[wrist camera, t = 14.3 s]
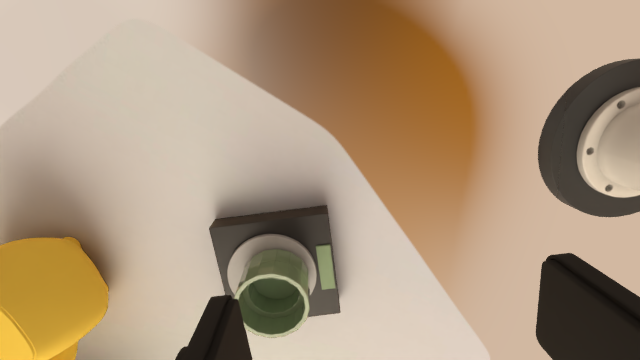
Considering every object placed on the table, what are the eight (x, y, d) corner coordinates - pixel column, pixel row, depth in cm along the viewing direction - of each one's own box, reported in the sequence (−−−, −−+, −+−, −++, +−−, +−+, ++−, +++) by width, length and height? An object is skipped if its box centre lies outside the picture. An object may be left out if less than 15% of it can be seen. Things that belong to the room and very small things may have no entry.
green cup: (304, 242, 35) (303, 269, 30) (313, 299, 37) (313, 332, 32) (238, 251, 35) (226, 279, 30) (250, 307, 37) (241, 341, 32)
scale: (326, 205, 37) (328, 215, 34) (338, 300, 41) (340, 316, 38) (215, 219, 37) (207, 230, 34) (237, 312, 41) (231, 329, 38)
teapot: (63, 358, 42) (-34, 466, 30) (-36, 227, 36) (-203, 297, 25) (155, 327, 41) (92, 426, 29) (68, 188, 35) (-54, 242, 24)
